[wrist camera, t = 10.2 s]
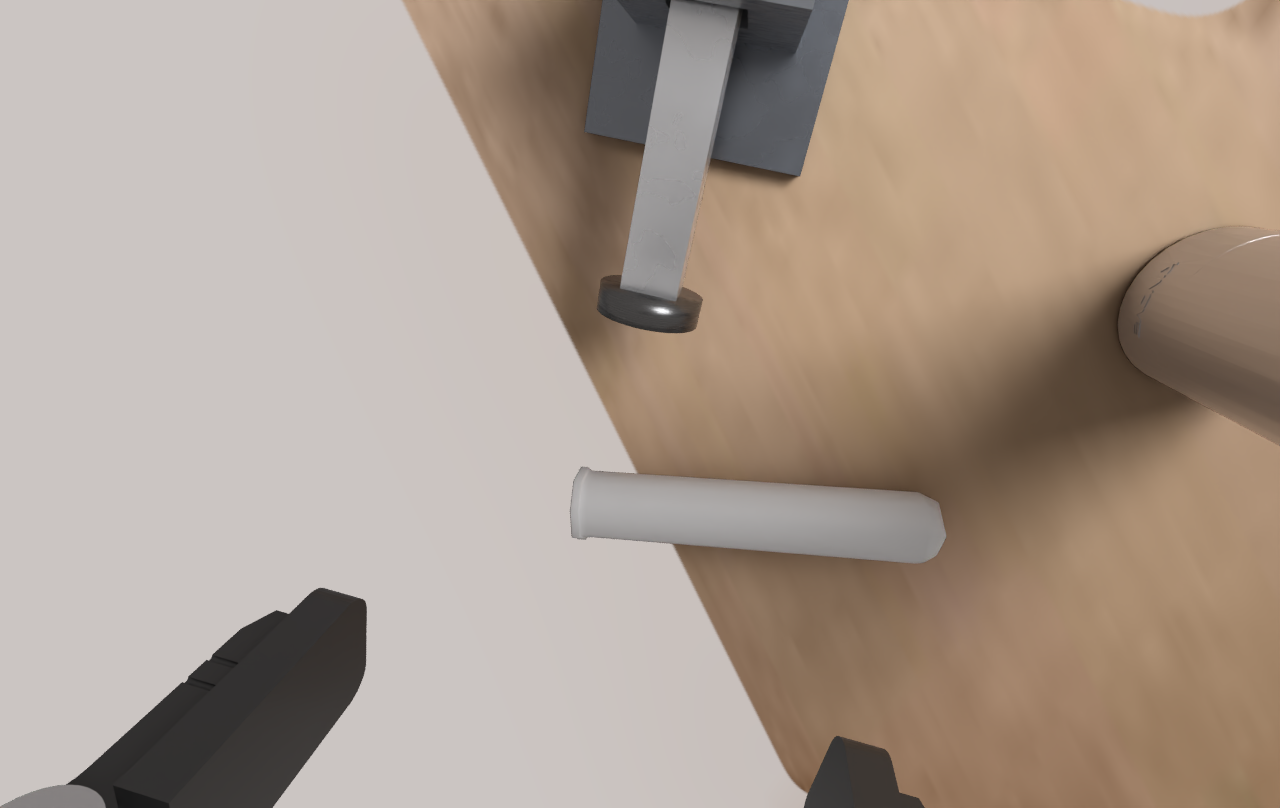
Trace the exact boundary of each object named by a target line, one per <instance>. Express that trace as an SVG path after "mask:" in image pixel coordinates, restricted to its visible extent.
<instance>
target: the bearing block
mask: <svg viewBox="0 0 1280 808" xmlns="http://www.w3.org/2000/svg"><path fill="white" fill-rule="evenodd" d="M697 1H703V2H708V3H713V4H719V5H724V6H730V7H735V8H740V9H743V13H742V18H741V22H740V27H739V31H738V36H737V41H736V45H735V50H734V54H733V59H732V63H731V68H730V73H729V77H728V82H727V86H726V91H725V95H724V100H723V105H722V109H721V114H720V118H719V123H718V127H717V132H716V137H715V141H714V146H713V150H712V155H711V158H713V159H718V160H723V161H728V162H733V163H738V164H742V165H747V166H752V167H757V168H762V169H767V170H772V171H776V172H781V173H786V174H791V175H796V176H800V174H801V171H802V167H803V164H804V160H805V156H806V153H807V149H808V146H809V142H810V138H811V135H812V131H813V127H814V124H815V120H816V117H817V113H818V109H819V106H820V102H821V98H822V95H823V91H824V88H825V84H826V80H827V77H828V73H829V69H830V66H831V62H832V59H833V55H834V51H835V48H836V44H837V41H838V37H839V33H840V30H841V26H842V22H843V19H844V15H845V12H846V8H847V4H848V1H849V0H697ZM670 3H671V0H603V2H602V9H601V16H600V23H599V30H598V37H597V45H596V52H595V59H594V66H593V73H592V80H591V88H590V95H589V102H588V109H587V116H586V124H585V131H584V132H588V133H592V134H597V135H602V136H607V137H612V138H617V139H622V140H626V141H631V142H636V143H641V144H646V138H647V133H648V127H649V121H650V116H651V110H652V104H653V99H654V93H655V88H656V82H657V76H658V71H659V65H660V59H661V54H662V48H663V42H664V37H665V31H666V26H667V20H668V14H669V9H670Z"/></svg>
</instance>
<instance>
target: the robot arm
mask: <svg viewBox="0 0 1280 808" xmlns="http://www.w3.org/2000/svg"><path fill="white" fill-rule="evenodd" d="M1118 333H1119V340H1120V343H1121V346H1122V348H1123V351H1124V353H1125V355H1126V356H1127V357H1128V359H1129V360H1130V361H1131V363H1132V364H1133V365H1134V366H1135V367H1137V368H1138V369H1139V370H1140V371H1142V372H1143V373H1144V374H1146V375H1148V376H1150V377H1151V378H1153V379H1155V380H1157V381H1159V382H1161V383H1163V384H1165V385H1167V386H1168V387H1170V388H1172V389H1174V390H1176V391H1178V392H1180V393H1182V394H1184V395H1185V396H1187V397H1189V398H1190V399H1192V400H1194V401H1196V402H1198V403H1200V404H1202V405H1204V406H1206V407H1207V408H1209V409H1211V410H1213V411H1215V412H1217V413H1219V414H1221V415H1222V416H1224V417H1226V418H1228V419H1230V420H1232V421H1234V422H1236V423H1238V424H1239V425H1241V426H1243V427H1245V428H1247V429H1249V430H1251V431H1253V432H1255V433H1256V434H1258V435H1260V436H1262V437H1264V438H1266V439H1268V440H1270V441H1272V442H1273V443H1275V444H1277V445H1279V446H1280V230H1272V229H1264V228H1256V227H1233V226H1228V227H1222V228H1216V229H1211V230H1206V231H1203V232H1200V233H1198V234H1195V235H1192V236H1189V237H1186V238H1184V239H1183V240H1181V241H1179V242H1177V243H1175V244H1174V245H1172V246H1170V247H1168V248H1167V249H1165V250H1164V251H1163V252H1161V253H1160V254H1159V255H1157V256H1156V257H1155V258H1154V259H1152V260H1151V261H1150V262H1149V263H1148V264H1147V265H1146V266H1145V267H1144V268H1143V270H1142V271H1141V272H1140V273H1139V274H1138V275H1137V276H1136V278H1135V279H1134V281H1133V282H1132V284H1131V285H1130V287H1129V289H1128V290H1127V292H1126V294H1125V297H1124V299H1123V302H1122V304H1121V307H1120V312H1119V318H1118ZM366 616H367V607H366V603H365V601H364V600H363V599H360V598H356V597H353V596H350V595H346V594H342V593H339V592H336V591H332V590H328V589H325V588H318V589H316V590H314V591H313V592H312V593H310V594H309V595H308V596H307V597H306V598H305V599H304V600H303V601H302V602H301V603H300V604H299V605H298V606H297V607H296V608H295V609H294V610H293V611H292V612H291V613H290V614H287V613H284V612H280V611H277V610H276V611H274V612H272V613H270V614H268V615H267V616H265V617H263V618H261V619H259V620H257V621H255V622H253V623H252V624H249V625H248V626H246V627H244V628H242V629H240V630H239V631H238V632H237V633H236V634H235V635H234V636H233V637H231V638H230V639H229V640H228V641H227V642H226V643H225V644H224V645H223V646H222V647H221V648H219V650H217V651H216V652H215V653H214V654H213V655H212V658H211V659H210V660H209V661H208V660H206V661H205V662H204V663H203V664H202V665H201V666H200V667H198V668H197V670H195V671H194V672H193V673H192V674H191V675H190V676H189V677H188V680H187V681H186V682H185V683H183V682H182V683H181V684H180V685H179V686H178V687H176V688H175V689H174V690H173V691H172V692H171V693H170V694H169V695H168V696H167V697H165V698H164V699H163V700H162V701H161V702H160V703H159V704H158V705H157V706H156V707H155V708H154V709H152V710H151V711H150V712H149V713H148V714H147V715H146V716H145V717H143V718H142V719H141V720H140V721H139V722H138V723H137V724H136V725H135V726H134V727H133V728H131V729H130V730H129V731H128V732H127V733H126V734H125V735H124V736H123V737H121V738H120V739H119V740H118V741H117V742H116V743H115V744H114V745H113V746H112V747H111V748H109V749H108V750H107V751H106V752H105V753H104V754H103V755H102V756H101V757H99V758H98V759H97V760H96V761H95V762H94V763H93V764H92V765H91V766H90V767H88V768H87V769H86V770H85V771H84V772H83V773H81V774H80V775H79V776H78V777H77V778H75V779H74V780H72V781H71V782H69V783H68V784H66V785H58V786H53V787H48V788H43V789H40V790H37V791H33V792H31V793H28V794H25V795H23V796H21V797H18V798H16V799H14V800H12V801H10V802H8V803H6V804H4V805H2V806H1V807H0V808H273V806H274V805H275V803H276V802H277V801H278V799H279V798H280V797H281V795H282V794H283V793H284V791H285V790H286V789H287V787H288V786H289V785H290V783H291V782H292V781H293V779H294V778H295V777H296V775H297V774H298V773H299V771H300V770H301V769H302V767H303V766H304V765H305V763H306V762H307V760H308V759H309V758H310V756H311V755H312V754H313V752H314V751H315V750H316V748H317V747H318V746H319V744H320V743H321V742H322V740H323V739H324V738H325V736H326V735H327V734H328V732H329V731H330V729H331V728H332V727H333V725H334V724H335V723H336V721H337V720H338V719H339V718H340V716H341V715H342V713H343V712H344V711H345V709H346V708H347V706H348V705H349V704H350V703H351V701H352V700H353V698H354V696H355V694H356V692H357V691H358V688H359V686H360V684H361V681H362V679H363V676H364V672H365V667H366V621H367V617H366ZM804 808H924V806H923V805H922V803H921V801H920V800H919V798H916V797H913V796H909V795H906V794H902V793H899V790H898V786H897V781H896V777H895V773H894V769H893V765H892V761H891V758H890V756H889V754H888V752H887V751H886V750H885V749H882V748H879V747H875V746H872V745H868V744H865V743H861V742H858V741H854V740H850V739H847V738H843V737H840V736H836V737H835V738H834V739H833V740H832V742H831V744H830V746H829V749H828V751H827V753H826V755H825V757H824V760H823V762H822V764H821V766H820V768H819V771H818V773H817V775H816V777H815V780H814V782H813V784H812V786H811V788H810V791H809V793H808V795H807V798H806V801H805V806H804Z"/></svg>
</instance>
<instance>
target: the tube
mask: <svg viewBox="0 0 1280 808" xmlns="http://www.w3.org/2000/svg"><path fill="white" fill-rule="evenodd" d="M570 518H571V534H572V537H573V538H577V539H586V538H587V537H598V538H611V539H624V540H636V541H648V542H659V543H671V544H683V545H696V546H708V547H720V548H732V549H744V550H756V551H768V552H780V553H793V554H805V555H817V556H829V557H841V558H853V559H865V560H877V561H890V562H902V563H924V562H926V561H927V560H929V559H931V558H933V557H935V556H936V555H937V554H938V552H939V550H940V548H941V546H942V544H943V542H944V540H945V539H946V532H945V528H944V523H943V519H942V515H941V510H940V506H939V502H937V501H935V500H933V499H931V498H929V497H927V496H925V495H923V494H921V493H919V492H908V491H893V490H877V489H862V488H847V487H832V486H817V485H801V484H786V483H771V482H756V481H740V480H725V479H710V478H695V477H679V476H664V475H649V474H634V473H619V472H618V473H617V472H603V471H592V470H591V469H589V468H588V467H581V468H580V470H579V472H578V474H577V476H576V478H575V479H574V482H573V490H572V499H571V507H570Z"/></svg>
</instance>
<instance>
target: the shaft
mask: <svg viewBox="0 0 1280 808" xmlns="http://www.w3.org/2000/svg"><path fill="white" fill-rule="evenodd" d="M742 13H743V9H740V8H735V7H730V6H724V5H719V4H713V3H708V2H703V1H697V0H671V3H670V9H669V14H668V20H667V26H666V31H665V37H664V42H663V48H662V54H661V59H660V65H659V71H658V76H657V82H656V88H655V93H654V99H653V104H652V110H651V116H650V121H649V127H648V133H647V138H646V144H645V150H644V155H643V161H642V166H641V172H640V178H639V183H638V189H637V195H636V200H635V206H634V212H633V217H632V223H631V228H630V234H629V240H628V245H627V251H626V257H625V262H624V268H623V274H622V275H611V276H606V277H603V278H602V279H601V284H600V290H599V296H598V302H597V310H598V311H599V312H600V313H601V314H602V315H604V316H605V317H607V318H609V319H611V320H613V321H616V322H618V323H621V324H624V325H627V326H631V327H635V328H639V329H643V330H649V331H655V332H663V333H685V332H690V331H693V330H694V329H696V326H697V322H698V318H699V314H700V309H701V305H702V301H703V299H702V297H701V296H700V295H698V294H697V293H695V292H693V291H691V290H689V289H687V288H684V287H683V283H684V278H685V274H686V269H687V265H688V260H689V255H690V251H691V246H692V242H693V237H694V233H695V228H696V223H697V219H698V214H699V210H700V205H701V201H702V196H703V191H704V187H705V182H706V178H707V173H708V169H709V164H710V159H711V155H712V150H713V146H714V141H715V137H716V132H717V127H718V123H719V118H720V114H721V109H722V105H723V100H724V95H725V91H726V86H727V82H728V77H729V73H730V68H731V63H732V59H733V54H734V50H735V45H736V41H737V36H738V31H739V27H740V22H741V18H742Z"/></svg>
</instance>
